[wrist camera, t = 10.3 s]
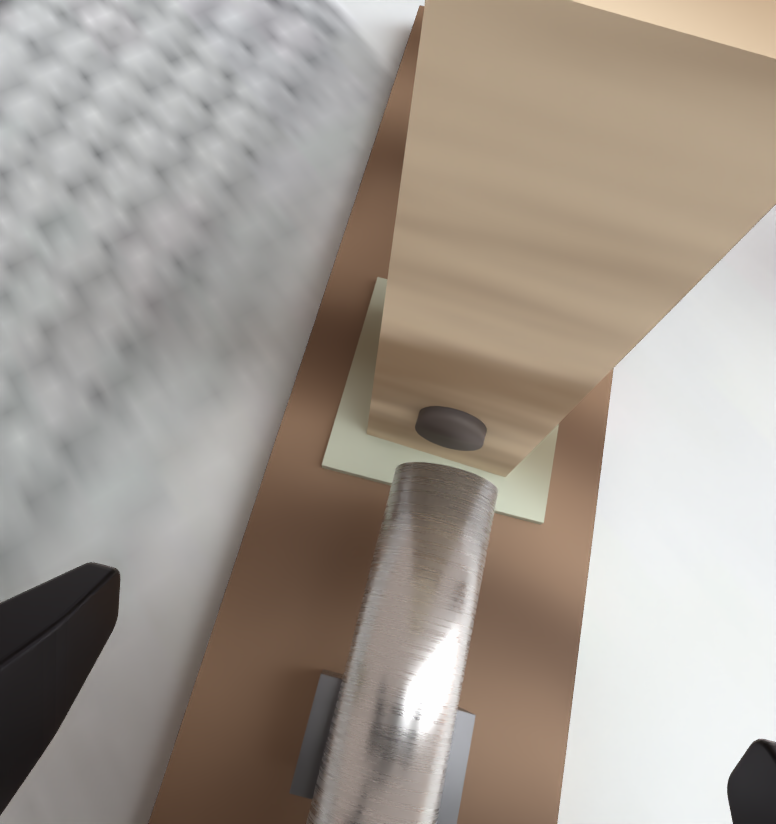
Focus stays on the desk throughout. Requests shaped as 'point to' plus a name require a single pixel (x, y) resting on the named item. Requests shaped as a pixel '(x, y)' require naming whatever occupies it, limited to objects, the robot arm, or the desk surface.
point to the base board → (352, 557)
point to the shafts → (404, 662)
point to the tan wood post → (561, 204)
